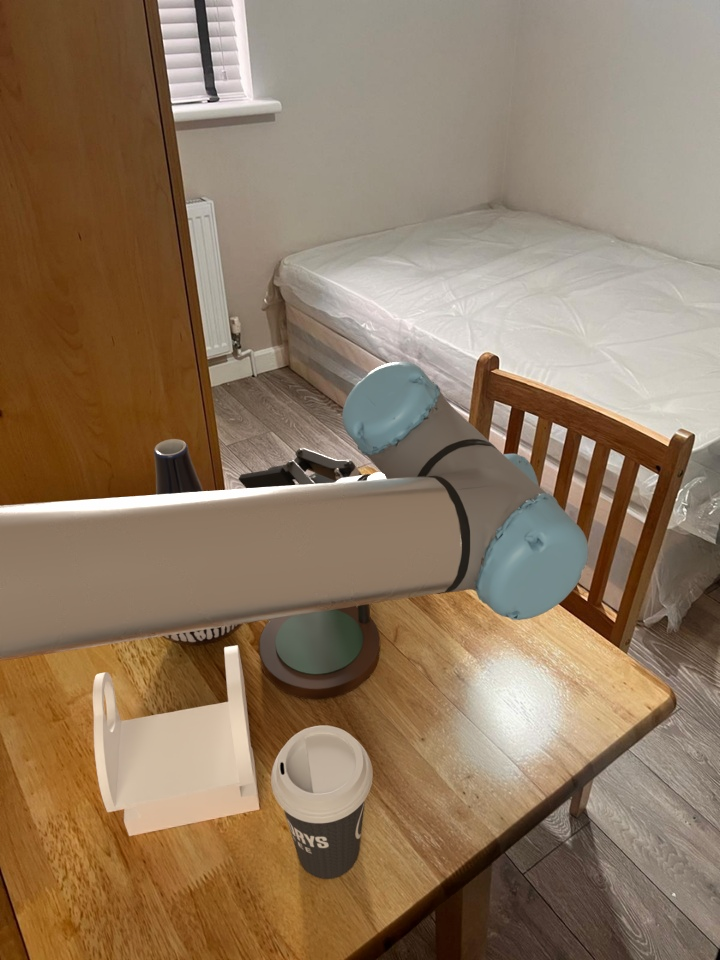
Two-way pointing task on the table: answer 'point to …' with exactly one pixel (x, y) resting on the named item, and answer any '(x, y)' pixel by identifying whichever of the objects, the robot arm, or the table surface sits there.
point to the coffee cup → (323, 797)
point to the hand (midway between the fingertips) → (221, 529)
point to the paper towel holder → (320, 651)
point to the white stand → (176, 758)
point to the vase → (182, 478)
